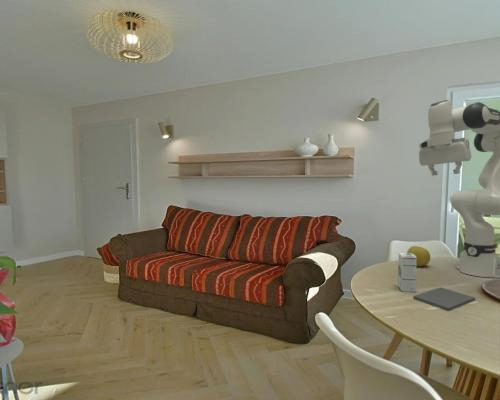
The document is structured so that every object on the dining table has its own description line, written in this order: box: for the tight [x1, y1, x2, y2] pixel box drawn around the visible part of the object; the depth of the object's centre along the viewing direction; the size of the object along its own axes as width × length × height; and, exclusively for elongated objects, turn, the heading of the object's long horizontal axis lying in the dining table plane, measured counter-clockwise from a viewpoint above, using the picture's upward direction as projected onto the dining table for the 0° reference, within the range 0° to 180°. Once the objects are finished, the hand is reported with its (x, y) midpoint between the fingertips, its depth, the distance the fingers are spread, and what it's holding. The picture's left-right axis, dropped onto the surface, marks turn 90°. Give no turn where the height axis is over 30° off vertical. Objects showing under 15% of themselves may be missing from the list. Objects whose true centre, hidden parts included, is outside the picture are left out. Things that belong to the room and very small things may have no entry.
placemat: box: [412, 287, 476, 311], centre depth 125 cm, size 18×13×1 cm
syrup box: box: [397, 252, 417, 293], centre depth 135 cm, size 6×6×14 cm
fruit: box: [406, 245, 431, 267], centre depth 169 cm, size 10×11×10 cm
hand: (445, 174), depth 137 cm, fingers open, 8 cm apart
